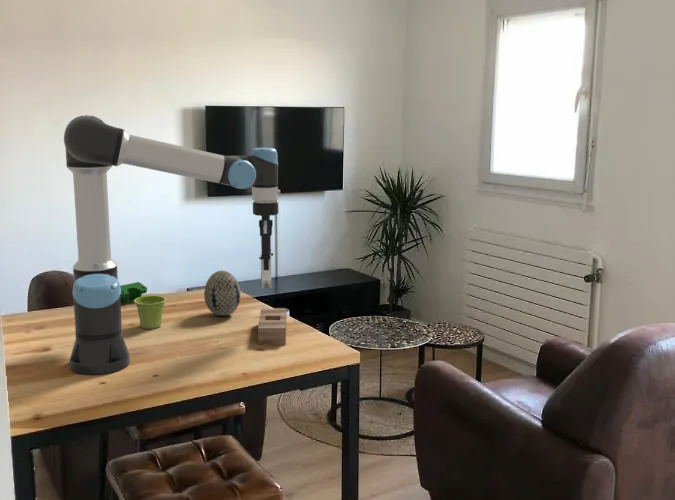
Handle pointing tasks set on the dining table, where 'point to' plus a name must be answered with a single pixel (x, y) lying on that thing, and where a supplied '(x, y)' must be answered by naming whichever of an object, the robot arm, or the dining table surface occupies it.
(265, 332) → the hole block
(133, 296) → the clamp
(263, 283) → the steel peg
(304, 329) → the dining table surface
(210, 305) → the decorative egg
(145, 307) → the plant pot
